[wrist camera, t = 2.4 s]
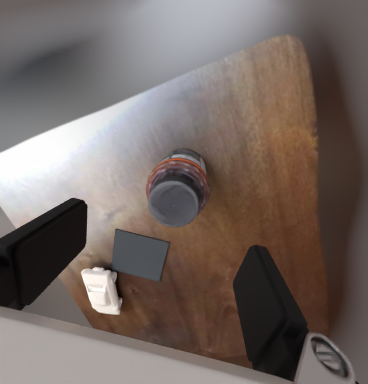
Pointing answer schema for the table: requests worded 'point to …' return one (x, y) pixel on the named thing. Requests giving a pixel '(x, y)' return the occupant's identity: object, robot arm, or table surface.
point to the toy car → (102, 290)
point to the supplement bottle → (178, 188)
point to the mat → (138, 255)
